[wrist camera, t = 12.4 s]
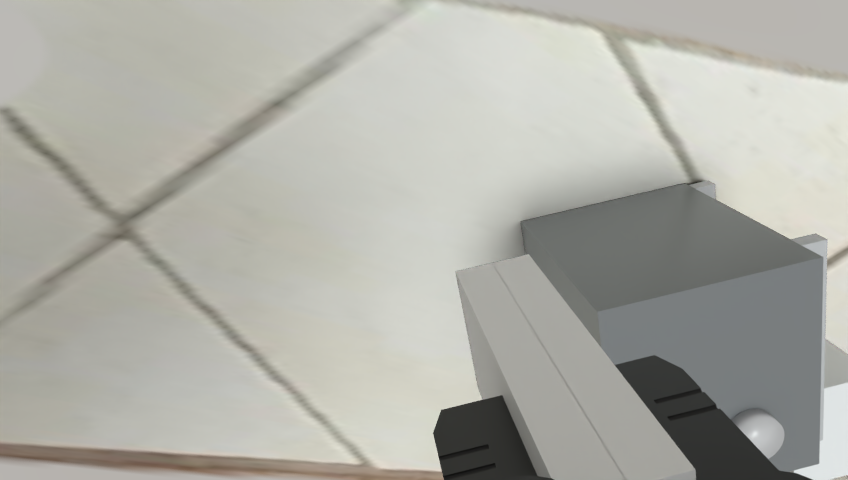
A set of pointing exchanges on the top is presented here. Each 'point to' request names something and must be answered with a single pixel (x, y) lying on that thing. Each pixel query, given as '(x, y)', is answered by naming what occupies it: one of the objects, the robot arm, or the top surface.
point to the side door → (833, 419)
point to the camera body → (702, 304)
